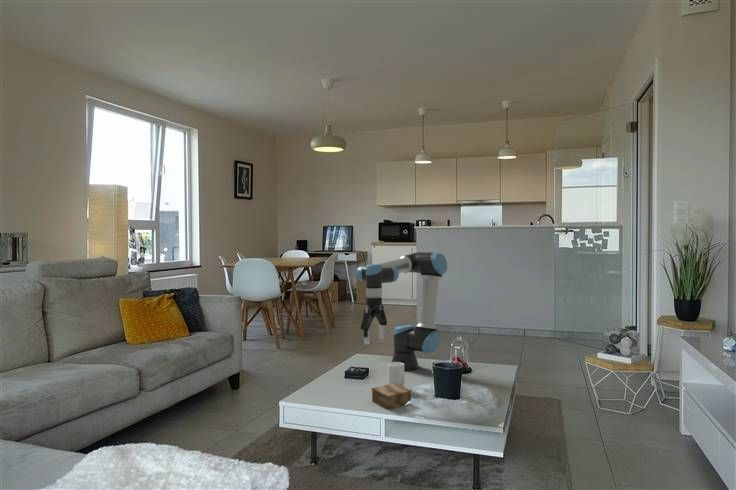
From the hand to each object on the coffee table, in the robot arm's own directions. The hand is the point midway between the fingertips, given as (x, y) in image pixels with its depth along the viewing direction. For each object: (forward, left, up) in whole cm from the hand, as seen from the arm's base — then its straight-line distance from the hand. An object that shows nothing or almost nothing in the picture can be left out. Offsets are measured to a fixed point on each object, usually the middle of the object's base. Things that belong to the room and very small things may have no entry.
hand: (374, 341), depth 229 cm
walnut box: (+5, +20, -23) cm, 31 cm away
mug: (-8, +7, -23) cm, 25 cm away
